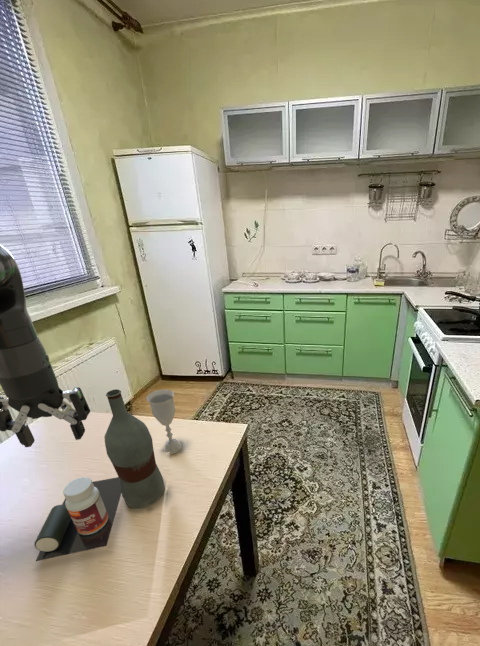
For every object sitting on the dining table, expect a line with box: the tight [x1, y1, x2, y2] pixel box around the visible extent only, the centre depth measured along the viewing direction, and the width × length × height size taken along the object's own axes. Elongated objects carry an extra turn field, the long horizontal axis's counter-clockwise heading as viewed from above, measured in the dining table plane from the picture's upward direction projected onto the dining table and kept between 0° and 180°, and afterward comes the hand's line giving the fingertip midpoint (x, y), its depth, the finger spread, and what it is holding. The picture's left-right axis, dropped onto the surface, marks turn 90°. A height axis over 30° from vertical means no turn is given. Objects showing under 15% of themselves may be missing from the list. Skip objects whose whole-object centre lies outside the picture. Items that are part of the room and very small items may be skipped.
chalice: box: [145, 389, 183, 455], centre depth 91 cm, size 7×7×18 cm
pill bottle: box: [62, 476, 108, 535], centre depth 69 cm, size 6×6×11 cm
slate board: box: [35, 476, 122, 562], centre depth 74 cm, size 13×20×2 cm, turn 13°
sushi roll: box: [33, 504, 71, 552], centre depth 68 cm, size 4×8×4 cm, turn 13°
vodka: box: [104, 389, 165, 509], centre depth 72 cm, size 9×9×30 cm
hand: (55, 440), depth 62 cm, fingers open, 8 cm apart
